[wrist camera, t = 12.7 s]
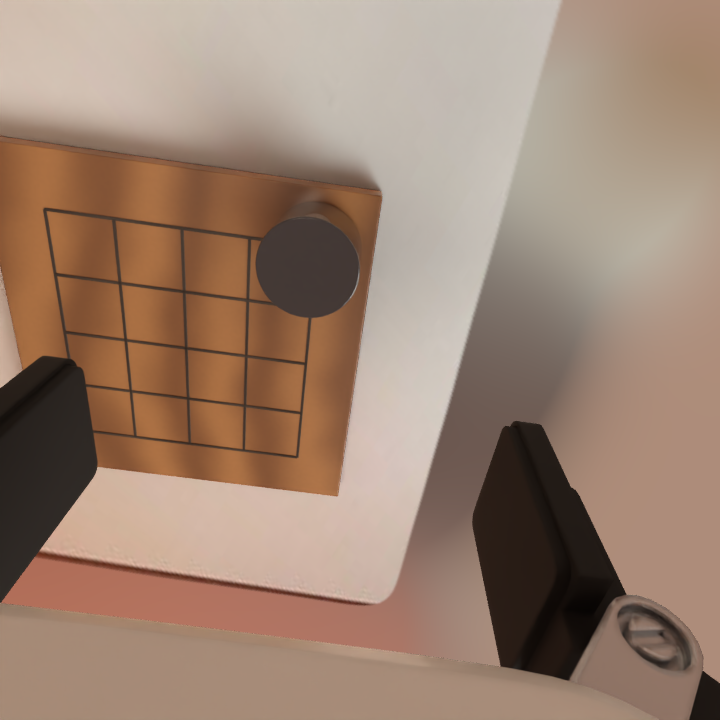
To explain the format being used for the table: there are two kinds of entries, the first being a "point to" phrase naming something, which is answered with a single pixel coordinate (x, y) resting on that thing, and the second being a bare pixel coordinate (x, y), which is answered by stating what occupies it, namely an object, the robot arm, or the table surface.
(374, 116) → the table surface
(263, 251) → the dark brown puck
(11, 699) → the robot arm
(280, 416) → the board
